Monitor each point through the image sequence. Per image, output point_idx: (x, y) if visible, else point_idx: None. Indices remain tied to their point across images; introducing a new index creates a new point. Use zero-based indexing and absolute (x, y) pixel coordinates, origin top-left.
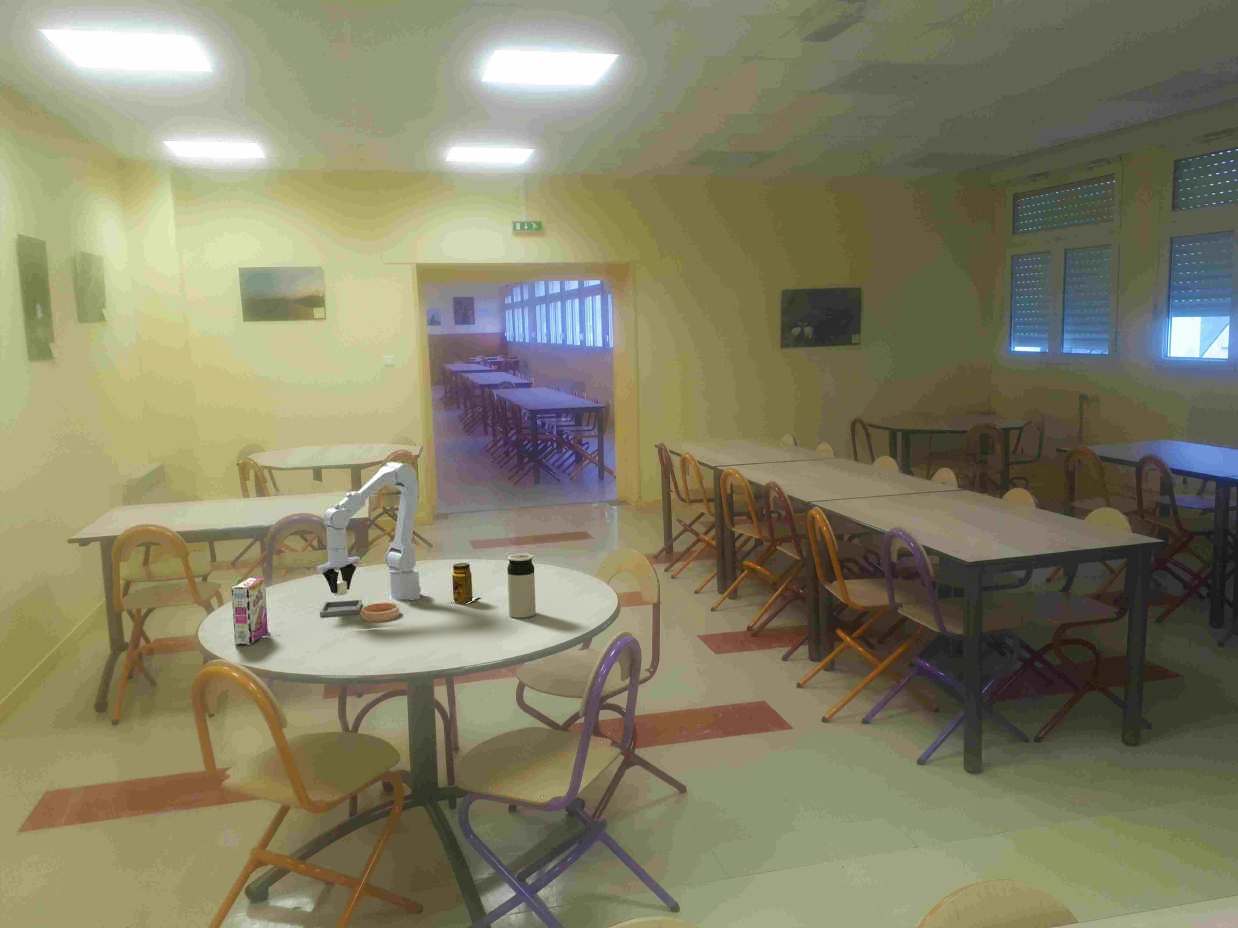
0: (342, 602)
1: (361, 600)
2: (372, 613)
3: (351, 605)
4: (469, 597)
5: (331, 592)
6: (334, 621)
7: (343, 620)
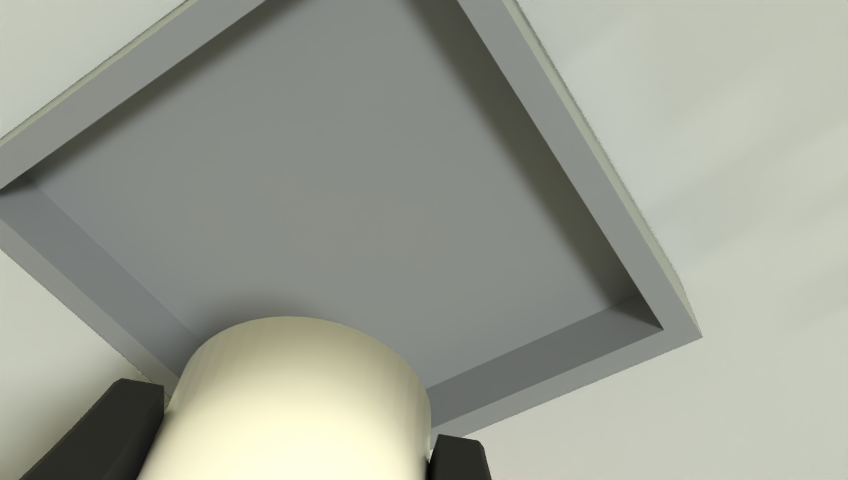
0: (542, 133)
1: (679, 341)
2: None
3: (586, 216)
4: None
5: (115, 384)
6: (38, 353)
7: None
